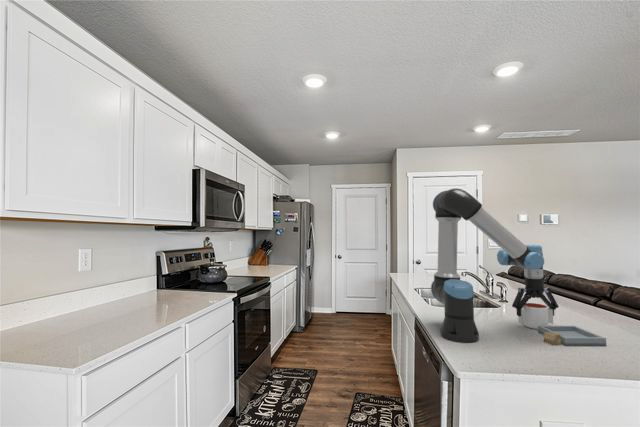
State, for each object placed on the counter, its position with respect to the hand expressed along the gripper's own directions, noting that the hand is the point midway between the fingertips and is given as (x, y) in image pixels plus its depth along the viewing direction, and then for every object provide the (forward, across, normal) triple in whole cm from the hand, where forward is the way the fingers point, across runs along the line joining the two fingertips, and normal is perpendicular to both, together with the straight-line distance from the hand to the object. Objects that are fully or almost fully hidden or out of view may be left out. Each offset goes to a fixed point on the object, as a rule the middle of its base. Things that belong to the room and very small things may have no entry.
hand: (535, 323), depth 150 cm
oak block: (+2, -7, -21) cm, 22 cm away
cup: (+2, 0, 0) cm, 2 cm away
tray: (+2, +4, -16) cm, 17 cm away
